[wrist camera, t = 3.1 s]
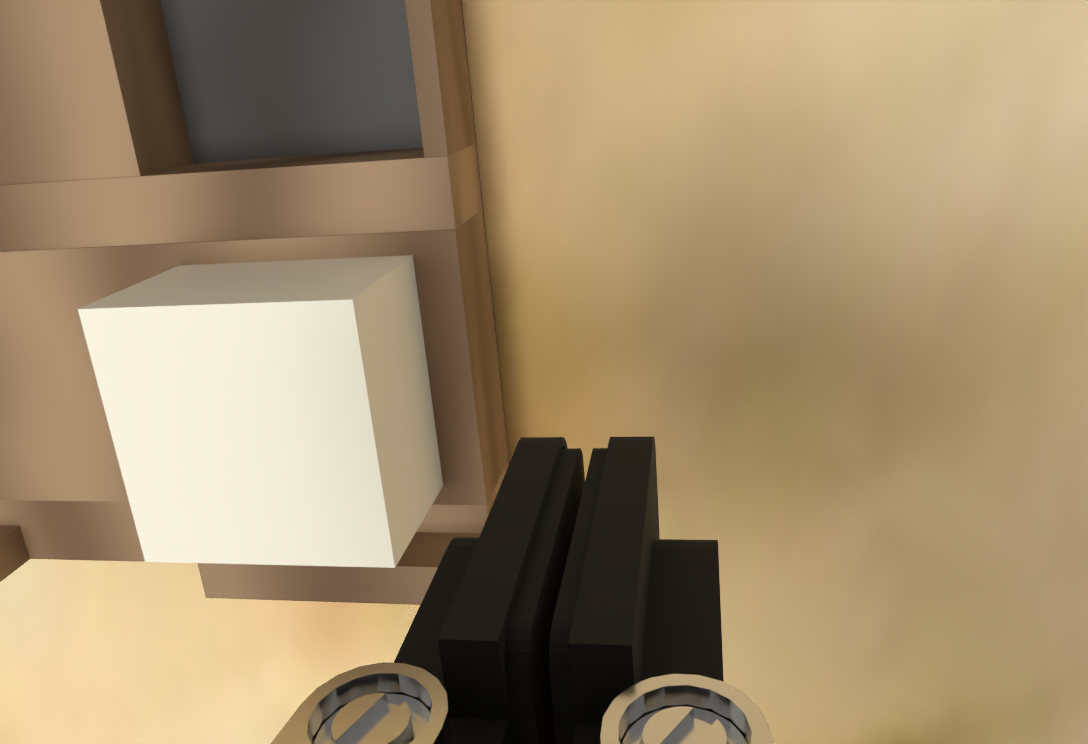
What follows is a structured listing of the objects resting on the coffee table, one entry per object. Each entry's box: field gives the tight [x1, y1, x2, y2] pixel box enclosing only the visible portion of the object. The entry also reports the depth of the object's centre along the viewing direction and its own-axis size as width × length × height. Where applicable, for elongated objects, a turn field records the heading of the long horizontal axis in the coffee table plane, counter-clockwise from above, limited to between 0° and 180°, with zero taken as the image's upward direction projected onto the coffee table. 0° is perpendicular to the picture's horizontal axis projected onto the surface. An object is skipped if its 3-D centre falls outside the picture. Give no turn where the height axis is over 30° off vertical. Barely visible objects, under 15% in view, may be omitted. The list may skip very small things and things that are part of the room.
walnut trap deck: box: [0, 0, 509, 605], centre depth 21 cm, size 22×18×4 cm
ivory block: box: [78, 255, 443, 568], centre depth 19 cm, size 6×6×4 cm
